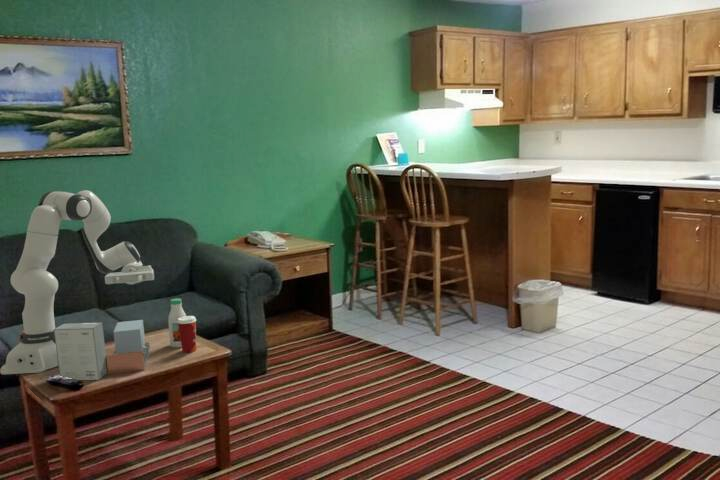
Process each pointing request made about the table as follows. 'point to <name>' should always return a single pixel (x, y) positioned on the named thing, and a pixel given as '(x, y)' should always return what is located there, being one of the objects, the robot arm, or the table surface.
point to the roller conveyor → (127, 361)
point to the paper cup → (187, 333)
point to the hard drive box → (81, 351)
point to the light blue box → (129, 336)
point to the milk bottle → (175, 322)
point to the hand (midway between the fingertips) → (128, 280)
